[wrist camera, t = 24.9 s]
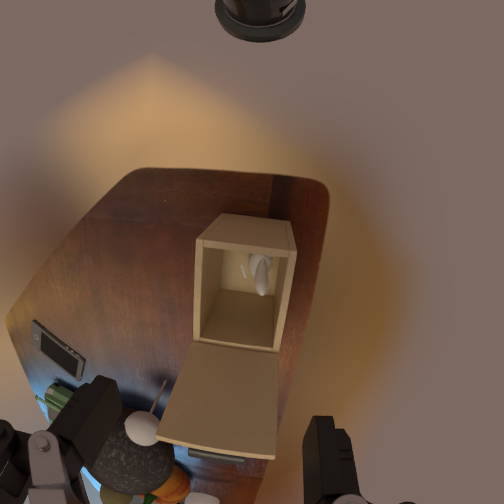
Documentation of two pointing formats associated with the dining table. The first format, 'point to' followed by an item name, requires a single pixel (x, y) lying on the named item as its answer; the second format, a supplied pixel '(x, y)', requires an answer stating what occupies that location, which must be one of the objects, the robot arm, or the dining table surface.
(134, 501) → the toy vehicle
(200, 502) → the teardrop
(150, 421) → the lollipop
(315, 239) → the dining table surface
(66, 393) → the toy car
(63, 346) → the smartphone
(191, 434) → the lid
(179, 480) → the pumpkin
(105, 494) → the fruit
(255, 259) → the rabbit figurine
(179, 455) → the dining table surface
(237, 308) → the chest
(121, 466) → the decorative sphere
